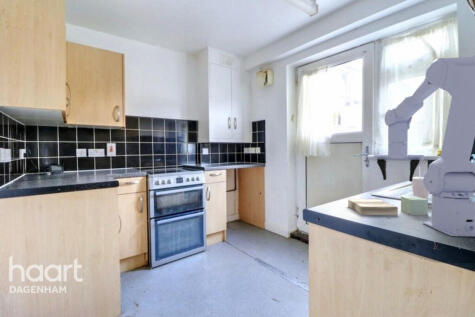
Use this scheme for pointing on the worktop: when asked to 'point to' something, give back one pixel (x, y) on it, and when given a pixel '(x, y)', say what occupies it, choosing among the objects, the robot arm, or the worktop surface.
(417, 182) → the smoothie
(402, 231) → the worktop surface
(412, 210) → the sage cube
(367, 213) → the birch block
